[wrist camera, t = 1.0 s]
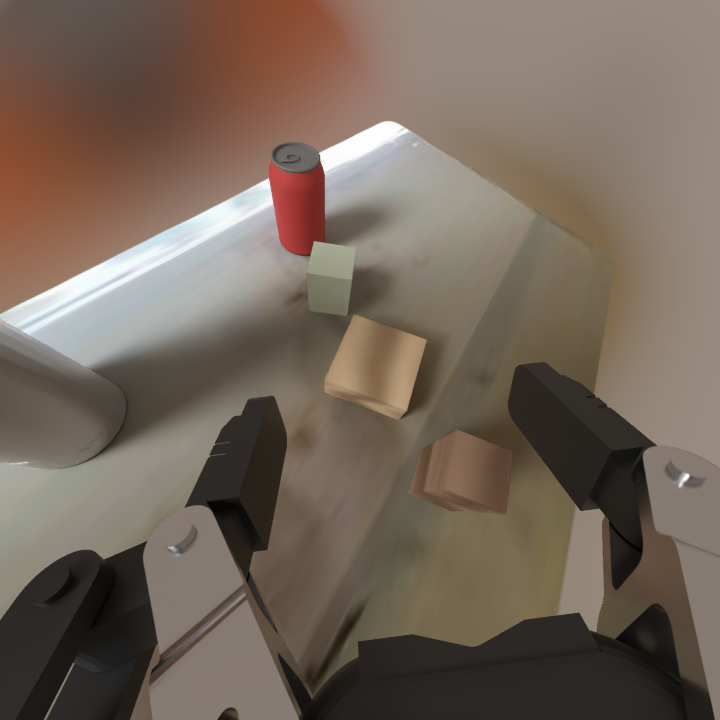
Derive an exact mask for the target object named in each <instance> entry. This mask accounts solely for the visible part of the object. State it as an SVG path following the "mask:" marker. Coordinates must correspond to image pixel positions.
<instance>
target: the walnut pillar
mask: <svg viewBox="0 0 720 720" xmlns="http://www.w3.org/2000/svg"><path fill="white" fill-rule="evenodd" d="M512 460H513V451H511V450H508V449H505V448H503V447H500V446H498V445H495V444H493V443H490V442H488V441H485V440H483V439H480V438H478V437H475V436H473V435H470V434H467V433H465V432H462V431H460V430H456V431H454V432H452V433H450V434H449V435H447V436H445V437H443V438H441V439H440V440H438V441H436V442H434V443H432V444H431V445H429V446H427V447H425V448H423V449H422V450H420V452H419V455H418V459H417V463H416V467H415V470H414V474H413V478H412V482H411V485H410V489H409V494H411V495H414V496H416V497H419V498H421V499H423V500H426V501H428V502H431V503H433V504H435V505H438V506H440V507H443V508H445V509H448V510H450V511H463V512H479V513H496V514H506V512H507V504H508V495H509V486H510V477H511V469H512Z"/></svg>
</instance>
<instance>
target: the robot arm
mask: <svg viewBox="0 0 720 720" xmlns="http://www.w3.org/2000/svg"><path fill="white" fill-rule="evenodd" d="M508 409H509V413H510V416H511V418H512V420H513V421H514V422H515V424H516V425H517V426H518V428H519V429H520V430H521V432H522V433H523V434H524V436H525V437H526V438H527V440H528V441H529V442H530V444H531V445H532V446H533V448H534V449H535V450H536V452H537V453H538V454H539V456H540V457H541V458H542V460H543V461H544V462H545V464H546V465H547V466H548V468H549V469H550V470H551V472H552V473H553V475H554V476H555V477H556V479H557V480H558V481H559V483H560V484H561V485H562V487H563V488H564V489H565V491H566V492H567V493H568V495H569V496H570V497H571V499H572V500H573V501H574V503H575V504H576V505H577V507H578V508H579V509H580V510H581V511H584V510H592V509H600V510H601V511H602V512H603V513H604V515H605V517H604V519H603V522H602V535H603V536H602V537H603V571H604V598H603V604H602V607H601V610H600V614H599V618H598V624H597V633H596V632H593V631H589V629H588V627H587V626H586V624H585V622H584V620H583V619H582V617H581V615H580V613H573V614H565V615H558V616H550V617H542V618H535V619H527V620H524V621H522V622H520V623H518V624H517V625H515V626H513V627H511V628H509V629H508V630H506V631H504V632H502V633H501V634H499V635H497V636H495V637H494V638H492V639H490V640H488V641H486V642H485V643H483V644H481V645H479V646H476V647H469V646H464V645H459V644H454V643H450V642H445V641H441V640H436V639H431V638H427V637H422V636H417V635H413V634H412V635H404V636H397V637H389V638H381V639H374V640H366V641H358V650H359V657H357V658H356V659H354V660H352V661H350V662H348V663H347V664H346V665H344V666H343V667H342V668H340V669H339V670H338V671H336V672H335V673H334V674H333V675H332V676H331V677H330V678H329V679H328V680H327V681H326V682H325V683H324V685H323V686H322V687H321V688H320V690H319V691H318V692H317V694H316V695H315V696H314V697H313V695H312V693H311V691H310V689H309V687H308V685H307V683H306V681H305V679H304V677H303V675H302V673H301V671H300V669H299V667H298V665H297V663H296V661H295V659H294V657H293V655H292V654H291V652H290V650H289V648H288V647H287V645H286V643H285V641H284V639H283V637H282V635H281V633H280V631H279V629H278V627H277V625H276V623H275V621H274V619H273V617H272V614H271V612H270V610H269V608H268V606H267V604H266V602H265V600H264V598H263V596H262V594H261V592H260V589H259V587H258V585H257V583H256V581H255V579H254V577H253V575H252V573H251V571H250V569H249V568H250V563H251V559H252V554H253V552H255V551H262V550H267V548H268V543H269V538H270V532H271V527H272V522H273V516H274V511H275V506H276V501H277V495H278V490H279V485H280V480H281V474H282V469H283V464H284V459H285V453H286V448H287V435H286V430H285V426H284V423H283V420H282V417H281V414H280V411H279V408H278V406H277V403H276V400H275V398H274V397H273V396H267V397H259V398H251V399H248V401H247V403H246V405H245V408H244V410H243V412H242V415H241V416H234V417H233V418H232V419H231V420H230V421H229V422H228V423H227V424H226V425H225V426H224V427H223V428H222V429H221V432H220V434H219V436H218V438H217V440H216V442H215V446H213V449H212V451H211V453H210V458H208V459H207V461H206V463H205V466H204V468H203V470H202V472H201V474H200V476H199V478H198V480H197V483H196V485H195V487H194V489H193V491H192V493H191V495H190V497H189V500H188V502H187V504H186V506H185V508H183V509H181V510H179V511H177V512H175V513H174V514H172V515H171V516H169V517H168V518H167V519H166V520H164V521H163V522H162V523H161V524H160V525H159V526H158V527H157V528H156V530H155V531H154V532H153V533H152V535H151V536H150V538H149V540H148V541H146V542H144V543H142V544H139V545H137V546H135V547H132V548H130V549H128V550H125V551H123V552H121V553H118V554H116V555H114V556H111V557H109V558H107V559H103V558H102V557H101V556H99V555H98V554H97V553H96V552H94V551H92V550H80V551H76V552H73V553H70V554H68V555H66V556H64V557H62V558H60V559H58V560H57V561H55V562H54V563H52V564H51V565H49V566H48V567H46V568H45V569H44V570H43V571H41V572H40V573H39V574H38V575H37V576H36V577H35V578H34V579H33V580H31V581H30V583H29V584H28V585H27V586H26V587H25V588H24V589H23V590H22V592H21V593H20V594H19V595H18V597H17V598H16V599H15V601H14V602H13V604H12V605H11V606H10V608H9V609H8V610H7V612H6V613H5V615H4V616H3V617H2V619H1V620H0V720H44V718H45V716H46V714H47V712H48V710H49V708H50V706H51V704H52V702H53V700H54V698H55V697H56V695H57V693H58V691H59V689H60V687H61V685H62V683H63V681H64V679H65V677H66V675H67V673H68V671H69V669H70V667H71V665H72V663H74V666H73V668H72V670H71V672H70V674H69V676H68V678H67V680H66V682H65V684H64V686H63V688H62V690H61V692H60V694H59V696H58V698H57V700H56V702H55V704H54V706H53V708H52V710H51V712H50V714H49V716H48V718H47V720H130V718H131V715H132V712H133V709H134V706H135V703H136V700H137V698H138V695H139V692H140V689H141V686H142V683H143V680H144V678H145V675H146V672H147V669H148V666H149V663H150V660H151V658H152V655H153V652H154V649H155V646H156V645H157V644H158V645H159V651H160V660H159V664H158V665H156V666H155V667H154V668H153V670H152V672H151V675H150V682H149V693H150V702H151V709H152V716H153V720H720V469H719V468H718V467H717V466H715V465H714V464H712V463H711V462H709V461H707V460H706V459H704V458H702V457H700V456H698V455H696V454H693V453H690V452H688V451H685V450H682V449H678V448H673V447H668V446H657V445H655V444H654V443H653V442H652V441H651V440H649V439H648V438H647V437H646V436H644V435H643V434H642V433H641V432H640V431H638V430H637V429H636V428H635V427H634V426H632V425H631V424H630V423H629V422H627V421H626V420H625V419H624V418H622V417H621V416H620V415H619V414H618V413H616V412H615V411H614V410H612V409H611V408H608V407H607V405H606V404H605V403H604V402H603V401H602V400H600V399H599V398H596V397H595V395H594V394H593V393H592V392H591V391H589V390H588V389H587V388H586V387H584V386H583V385H582V384H580V383H578V382H576V381H574V380H572V379H570V378H568V377H566V376H564V375H562V376H561V375H560V374H559V373H557V372H556V371H555V370H554V369H553V368H551V367H550V366H549V365H548V364H546V363H544V362H540V363H532V364H524V365H519V366H517V367H516V369H515V372H514V376H513V381H512V386H511V390H510V395H509V400H508ZM125 414H126V400H125V397H124V395H123V393H122V391H121V390H120V389H119V387H118V386H116V385H115V384H114V383H112V382H111V381H109V380H107V379H105V378H103V377H102V376H100V375H98V374H96V373H95V372H93V371H91V370H89V369H88V368H86V367H84V366H83V365H81V364H79V363H77V362H76V361H74V360H72V359H70V358H69V357H67V356H65V355H63V354H61V353H60V352H58V351H56V350H54V349H53V348H51V347H49V346H47V345H45V344H44V343H42V342H40V341H38V340H37V339H35V338H33V337H31V336H30V335H28V334H26V333H24V332H22V331H21V330H19V329H17V328H15V327H14V326H12V325H10V324H8V323H6V322H5V321H3V320H1V319H0V463H4V464H13V465H21V466H29V467H37V468H45V469H61V468H66V467H70V466H74V465H77V464H79V463H81V462H84V461H86V460H88V459H89V458H91V457H93V456H95V455H96V454H98V453H99V452H100V451H101V450H102V449H104V448H105V447H106V446H107V445H108V444H109V443H110V442H111V441H112V440H113V439H114V437H115V436H116V434H117V433H118V431H119V430H120V428H121V426H122V424H123V421H124V419H125Z"/></svg>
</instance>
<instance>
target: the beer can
mask: <svg viewBox="0 0 720 720" xmlns="http://www.w3.org/2000/svg"><path fill="white" fill-rule="evenodd" d="M270 158H271V162H270V168H269V180H270V186H271V192H272V197H273V203H274V209H275V215H276V221H277V226H278V232H279V238H280V241H281V244H282V245H283V247H284V248H285V249H286V250H288V251H290V252H292V253H294V254H298V255H309V254H311V252H312V248H313V243H314V241H316V242H322V243H324V242H325V175H324V170H323V167H322V164H321V162H320V155H319V153H318V151H316V150H315V149H314V148H313V147H311V146H309V145H307V144H304V143H300V142H286V143H282V144H279V145H278V146H276V147H274V149H273V150H272V151H271V155H270Z"/></svg>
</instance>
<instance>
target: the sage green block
mask: <svg viewBox="0 0 720 720" xmlns="http://www.w3.org/2000/svg"><path fill="white" fill-rule="evenodd" d="M355 253H356V248H354V247H348V246H341V245H335V244H329V243H322V242H316V241H314V243H313V248H312V252H311V256H310V260H309V264H308V268H307V272H306V276H307V288H308V300H309V311H313V312H320V313H327V314H334V315H341V316H347V314H348V307H349V300H350V293H351V286H352V278H353V270H354V262H355Z"/></svg>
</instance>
